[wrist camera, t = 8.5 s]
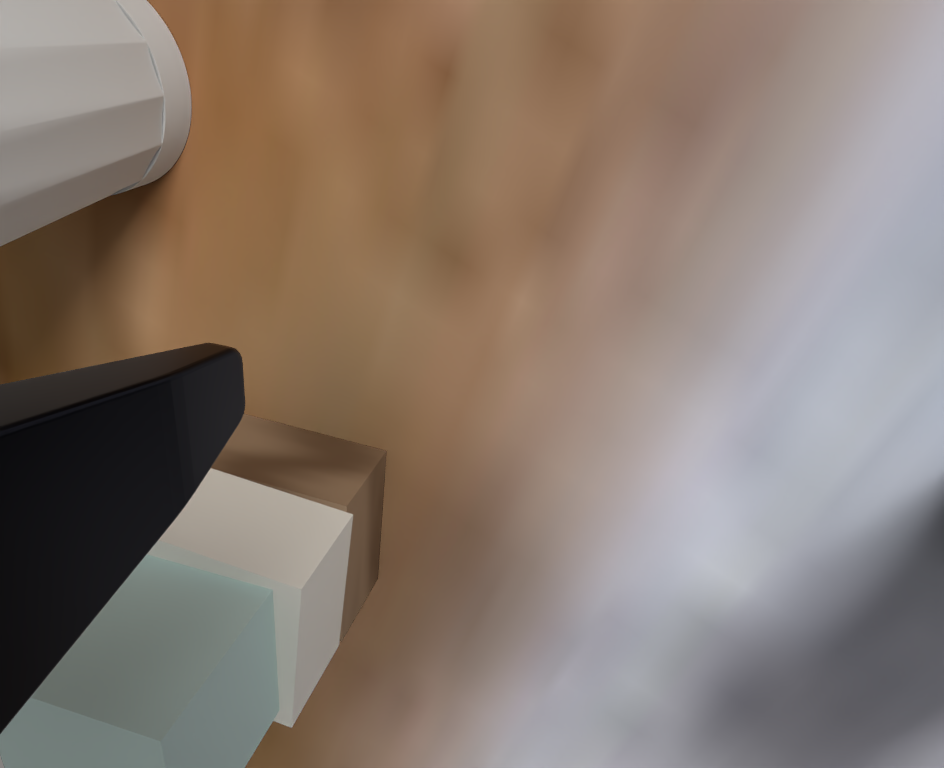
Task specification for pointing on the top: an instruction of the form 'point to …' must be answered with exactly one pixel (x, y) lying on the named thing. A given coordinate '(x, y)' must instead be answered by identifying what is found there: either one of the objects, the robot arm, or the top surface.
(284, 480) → the walnut slab
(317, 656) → the cream slab
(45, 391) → the robot arm
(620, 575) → the top surface
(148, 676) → the painted cube
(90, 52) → the cup
